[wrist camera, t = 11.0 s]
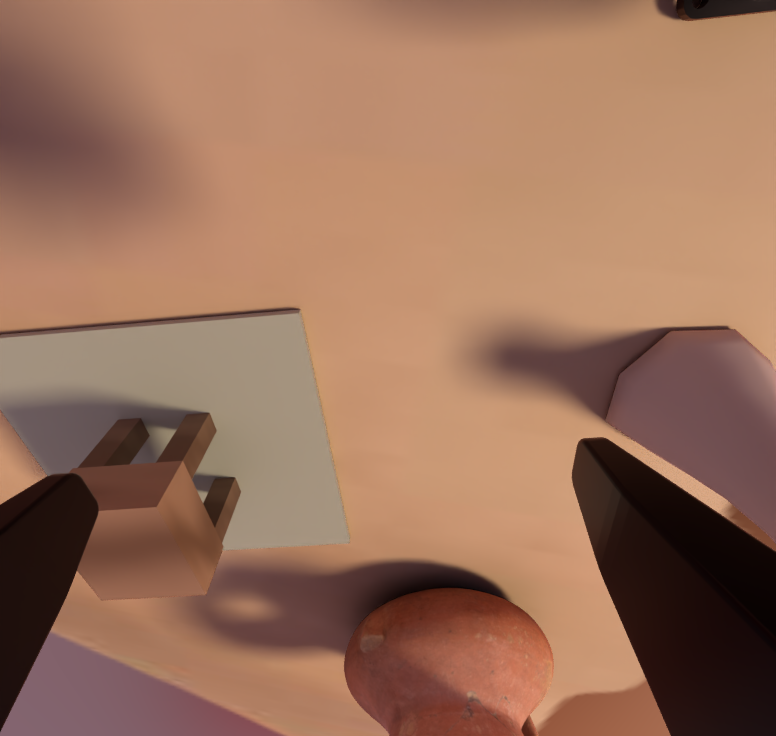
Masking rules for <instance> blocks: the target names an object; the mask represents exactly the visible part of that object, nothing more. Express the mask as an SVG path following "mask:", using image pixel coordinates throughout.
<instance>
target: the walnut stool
mask: <svg viewBox="0 0 776 736" xmlns="http://www.w3.org/2000/svg"><path fill="white" fill-rule="evenodd" d="M216 432H217V430H216V427H215V425H214V422H213V420H212V417H211V415H210V413H199V414H186V416H185V418H184V419H183V421H182V422H181V424H180V425H179V427H178V429H177V430H176V432H175V433H174V435H173V436H172V438H171V440H170V441H169V443H168V444H167V446H166V447H165V449H164V451H163V452H162V454H161V455H160V457H159V458H158V460H157V462H156V463H143V464H130V463H131V462H132V460H133V459H134V457H135V456H136V455H137V453H138V452H139V450H140V449H141V448H142V446H143V445H144V443H145V442H146V440H147V439H148V438H149V436H150V435H149V433H148V431H147V429H146V427H145V425H144V423H143V421H142V420H141V418H132V419H119V420H117V421H116V422H115V424H114V425H113V426H112V427H111V428H110V430H109V431H108V432H107V433H106V434H105V436H104V437H103V438H102V439H101V440H100V442H99V443H98V444H97V445H96V446H95V448H94V449H93V450H92V451H91V452H90V453H89V455H88V456H87V457H86V458H85V459H84V461H83V462H82V463H81V464H80V465H79V467H78V468H72V470H71V471H70V472H69V473H76V474H78V475H80V476H81V477H82V479H83V480H84V482H85V483H86V485H87V486H88V488H89V489H90V491H91V492H92V494H93V495H94V497H95V498H96V500H97V502H98V505H99V513H98V517H97V519H96V522H95V525H94V527H93V530H92V532H91V535H90V538H89V540H88V543H87V545H86V548H85V551H84V553H83V556H82V558H81V561H80V564H79V566H78V569H77V571H78V572H79V573H80V575H81V576H82V577H83V578H84V580H85V581H86V582H87V583H88V585H89V586H90V587H91V588H92V590H93V591H94V592H95V593H96V595H97V596H98V597H99V598H100V600H101V601H102V600H121V599H140V598H159V597H177V596H196V595H206V594H207V591H208V588H209V586H210V583H211V580H212V577H213V575H214V572H215V569H216V567H217V564H218V561H219V558H220V556H221V553H222V550H223V547H224V546H223V544H222V542H223V540H224V537H225V534H226V532H227V529H228V526H229V524H230V521H231V518H232V515H233V513H234V510H235V507H236V505H237V502H238V499H239V497H240V494H241V490H240V488H239V485H238V483H237V480H236V478H235V477H233V478H218V479H214V481H213V483H212V485H211V487H210V490H209V492H208V494H207V496H206V498H205V501H204V503H203V502H202V500H201V498H200V496H199V494H198V492H197V490H196V487H195V485H194V483H193V481H192V478H193V476H194V474H195V472H196V471H197V469H198V467H199V465H200V463H201V461H202V459H203V457H204V455H205V453H206V451H207V449H208V447H209V445H210V443H211V441H212V439H213V438H214V436H215V434H216Z"/></svg>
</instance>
